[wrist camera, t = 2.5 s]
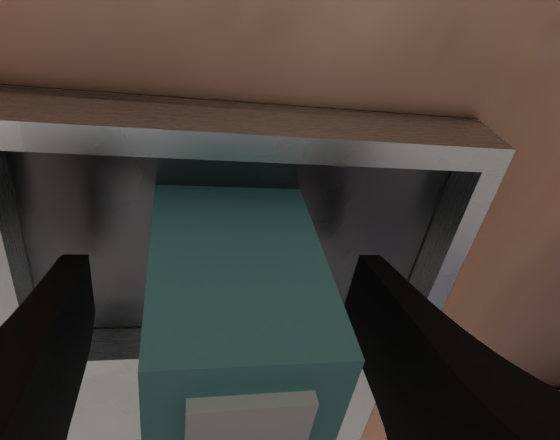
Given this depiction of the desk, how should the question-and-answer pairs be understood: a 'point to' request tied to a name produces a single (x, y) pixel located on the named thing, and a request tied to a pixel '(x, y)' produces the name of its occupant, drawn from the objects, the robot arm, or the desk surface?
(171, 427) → the block
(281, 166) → the case
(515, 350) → the desk surface
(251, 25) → the desk surface
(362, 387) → the lid
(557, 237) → the desk surface
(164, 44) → the desk surface
